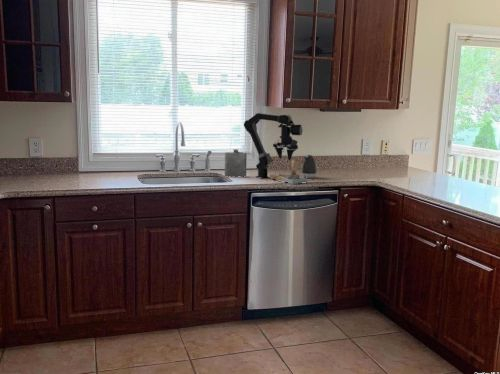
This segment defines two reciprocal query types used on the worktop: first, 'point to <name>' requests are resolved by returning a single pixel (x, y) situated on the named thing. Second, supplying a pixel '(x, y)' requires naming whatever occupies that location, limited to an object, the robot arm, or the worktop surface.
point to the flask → (235, 163)
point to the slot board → (278, 176)
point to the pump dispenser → (309, 167)
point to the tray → (293, 180)
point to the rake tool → (294, 171)
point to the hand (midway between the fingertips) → (284, 159)
